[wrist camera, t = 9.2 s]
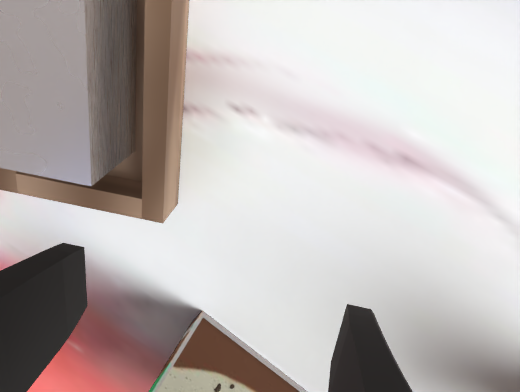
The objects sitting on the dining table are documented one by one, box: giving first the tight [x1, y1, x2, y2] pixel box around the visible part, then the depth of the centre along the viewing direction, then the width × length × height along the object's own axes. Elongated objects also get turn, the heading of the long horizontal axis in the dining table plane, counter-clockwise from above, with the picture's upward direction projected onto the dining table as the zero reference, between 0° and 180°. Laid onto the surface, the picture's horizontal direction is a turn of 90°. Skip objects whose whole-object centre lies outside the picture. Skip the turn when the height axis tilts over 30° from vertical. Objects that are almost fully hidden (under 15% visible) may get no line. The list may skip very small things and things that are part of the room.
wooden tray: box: [0, 0, 189, 223], centre depth 18 cm, size 8×13×2 cm, turn 173°
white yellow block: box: [0, 0, 137, 186], centre depth 17 cm, size 4×8×4 cm, turn 173°
